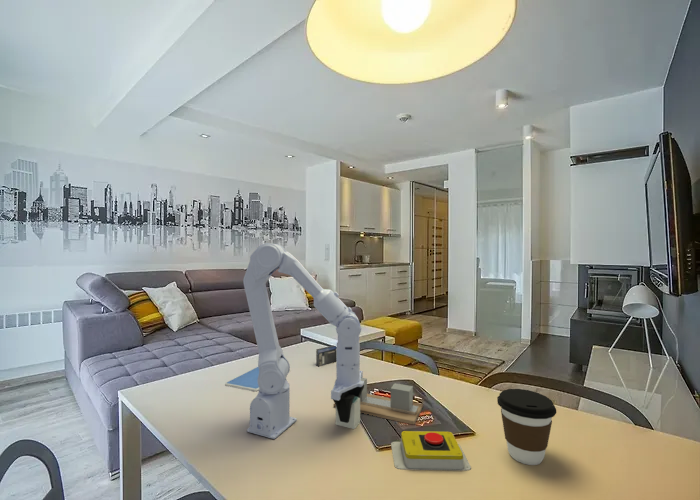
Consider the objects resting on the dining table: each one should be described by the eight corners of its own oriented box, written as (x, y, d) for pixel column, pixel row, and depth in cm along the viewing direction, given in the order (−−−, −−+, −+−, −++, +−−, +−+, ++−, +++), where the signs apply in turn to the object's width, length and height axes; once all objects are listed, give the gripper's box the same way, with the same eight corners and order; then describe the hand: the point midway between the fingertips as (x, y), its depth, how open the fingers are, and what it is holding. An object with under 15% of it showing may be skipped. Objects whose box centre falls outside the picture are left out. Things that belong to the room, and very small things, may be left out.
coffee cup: (565, 476, 65) (566, 413, 65) (504, 469, 67) (504, 408, 67) (543, 443, 76) (544, 389, 76) (491, 438, 78) (491, 386, 77)
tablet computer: (261, 367, 125) (261, 363, 125) (291, 372, 120) (291, 368, 120) (223, 387, 107) (223, 383, 107) (256, 393, 103) (256, 389, 103)
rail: (415, 415, 87) (415, 412, 87) (340, 399, 95) (340, 397, 95) (418, 409, 90) (418, 406, 90) (345, 394, 99) (345, 392, 99)
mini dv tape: (318, 366, 124) (318, 350, 124) (316, 365, 125) (316, 349, 125) (336, 362, 130) (336, 346, 130) (333, 361, 131) (333, 345, 131)
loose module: (354, 429, 82) (354, 402, 82) (335, 424, 84) (335, 398, 84) (360, 422, 85) (360, 396, 85) (341, 417, 87) (341, 393, 87)
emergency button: (472, 450, 67) (394, 449, 67) (472, 473, 67) (394, 471, 67) (458, 425, 76) (390, 424, 76) (458, 445, 76) (390, 444, 76)
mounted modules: (409, 411, 87) (409, 391, 87) (345, 398, 95) (345, 380, 95) (412, 405, 91) (412, 386, 91) (350, 393, 98) (350, 375, 98)
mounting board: (414, 424, 84) (414, 421, 84) (333, 407, 93) (333, 404, 93) (422, 407, 93) (422, 404, 93) (348, 393, 102) (348, 390, 102)
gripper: (351, 374, 76) (350, 435, 76) (373, 355, 89) (373, 407, 89) (322, 370, 79) (322, 429, 79) (348, 352, 92) (348, 402, 92)
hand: (347, 417), depth 84 cm, fingers closed on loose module, 4 cm apart
